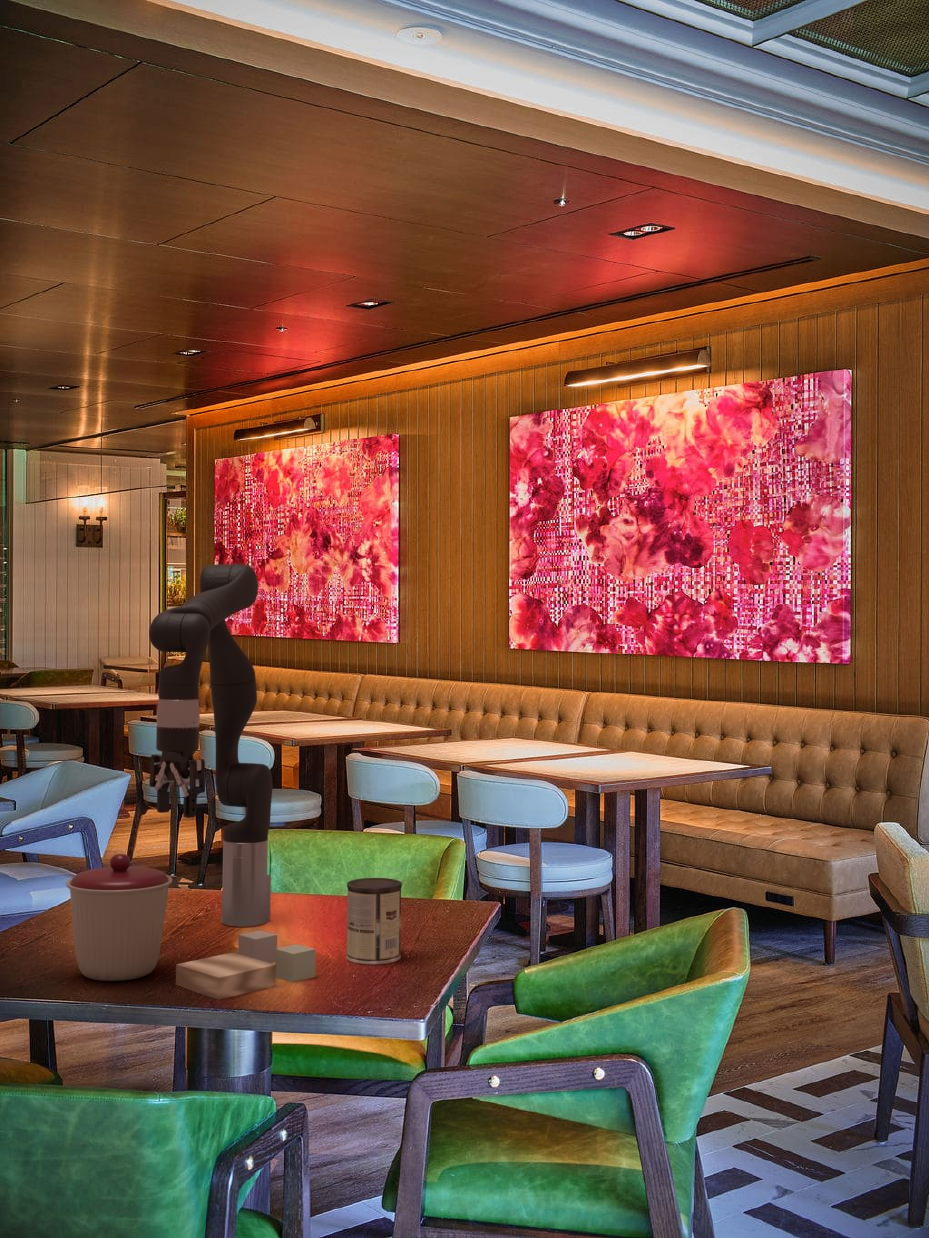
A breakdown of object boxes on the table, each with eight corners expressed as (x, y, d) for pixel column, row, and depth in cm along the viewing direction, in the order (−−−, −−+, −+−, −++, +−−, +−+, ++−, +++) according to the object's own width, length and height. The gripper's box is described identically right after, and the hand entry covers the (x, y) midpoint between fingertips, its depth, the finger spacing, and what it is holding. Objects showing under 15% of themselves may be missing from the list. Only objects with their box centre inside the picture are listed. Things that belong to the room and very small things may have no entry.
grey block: (259, 957, 235) (260, 930, 235) (276, 961, 232) (277, 934, 232) (238, 961, 231) (238, 934, 231) (255, 966, 228) (255, 939, 228)
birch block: (232, 974, 223) (232, 952, 224) (275, 987, 215) (276, 964, 215) (175, 987, 215) (176, 964, 215) (218, 1002, 207) (219, 977, 207)
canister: (84, 960, 230) (86, 844, 231) (182, 962, 230) (184, 846, 230) (48, 987, 212) (51, 862, 213) (154, 989, 212) (157, 864, 212)
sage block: (296, 972, 225) (297, 944, 225) (315, 977, 221) (315, 948, 221) (274, 977, 221) (275, 948, 221) (293, 982, 218) (293, 953, 218)
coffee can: (359, 949, 242) (360, 875, 242) (408, 954, 238) (410, 879, 239) (336, 961, 232) (337, 885, 232) (388, 967, 229) (389, 889, 229)
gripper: (218, 725, 224) (216, 817, 223) (174, 721, 234) (172, 809, 233) (182, 727, 218) (180, 821, 218) (138, 722, 228) (136, 812, 228)
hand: (176, 814), depth 226 cm, fingers open, 8 cm apart
